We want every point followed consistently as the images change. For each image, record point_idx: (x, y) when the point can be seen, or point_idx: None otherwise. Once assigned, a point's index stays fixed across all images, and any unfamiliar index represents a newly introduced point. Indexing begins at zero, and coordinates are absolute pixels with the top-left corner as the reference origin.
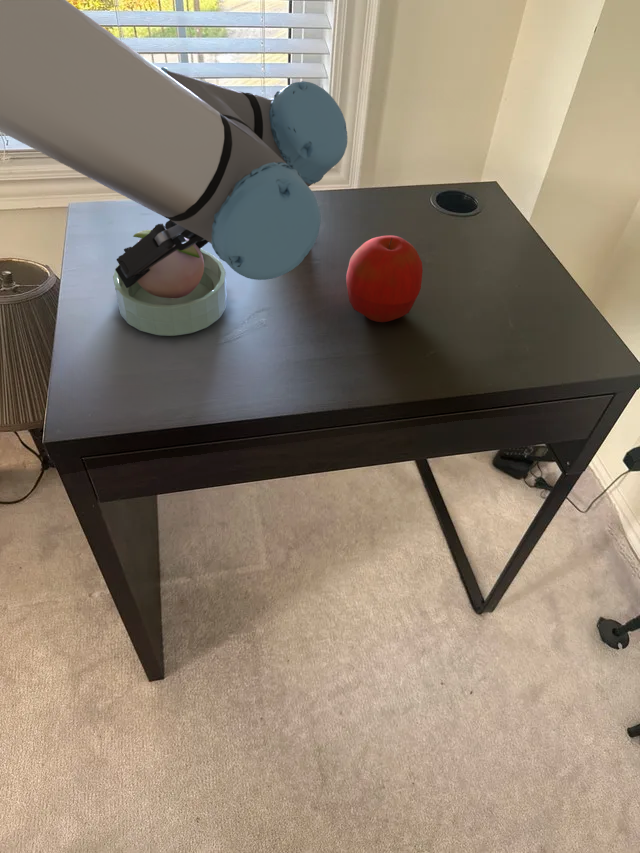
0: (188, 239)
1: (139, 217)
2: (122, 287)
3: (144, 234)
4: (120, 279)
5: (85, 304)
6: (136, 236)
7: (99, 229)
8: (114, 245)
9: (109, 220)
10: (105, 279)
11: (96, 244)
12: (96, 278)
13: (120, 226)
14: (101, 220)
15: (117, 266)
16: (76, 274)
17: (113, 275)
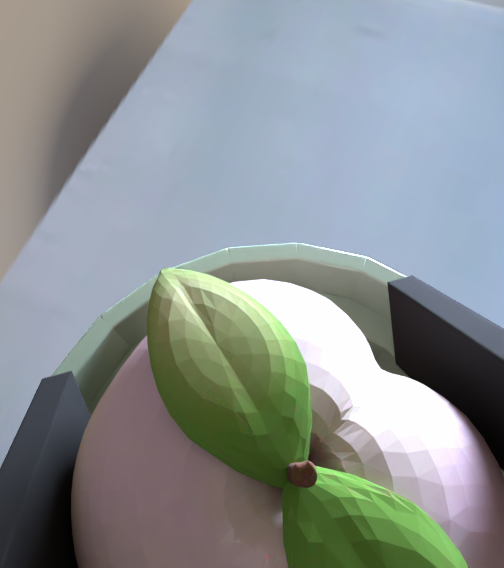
0: (482, 489)
1: (346, 37)
2: (109, 384)
3: (178, 366)
4: (100, 368)
5: (27, 336)
6: (147, 320)
7: (230, 47)
8: (236, 116)
9: (269, 25)
10: (141, 245)
11: (194, 96)
12: (121, 230)
13: (285, 53)
14: (250, 19)
15: (104, 315)
16: (83, 192)
17: (54, 372)
